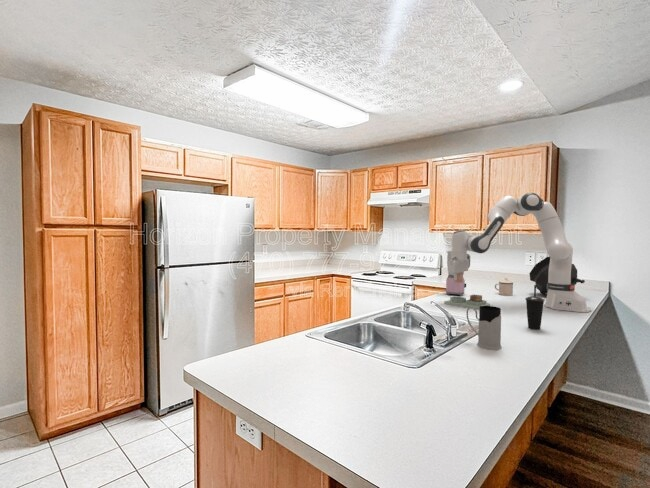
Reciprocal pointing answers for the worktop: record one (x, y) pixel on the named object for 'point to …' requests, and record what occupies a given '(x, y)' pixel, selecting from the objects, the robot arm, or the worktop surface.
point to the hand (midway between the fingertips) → (458, 279)
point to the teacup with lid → (505, 287)
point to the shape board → (466, 302)
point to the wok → (541, 275)
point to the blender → (450, 284)
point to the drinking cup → (534, 310)
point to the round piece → (459, 278)
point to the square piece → (476, 298)
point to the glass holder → (488, 327)
